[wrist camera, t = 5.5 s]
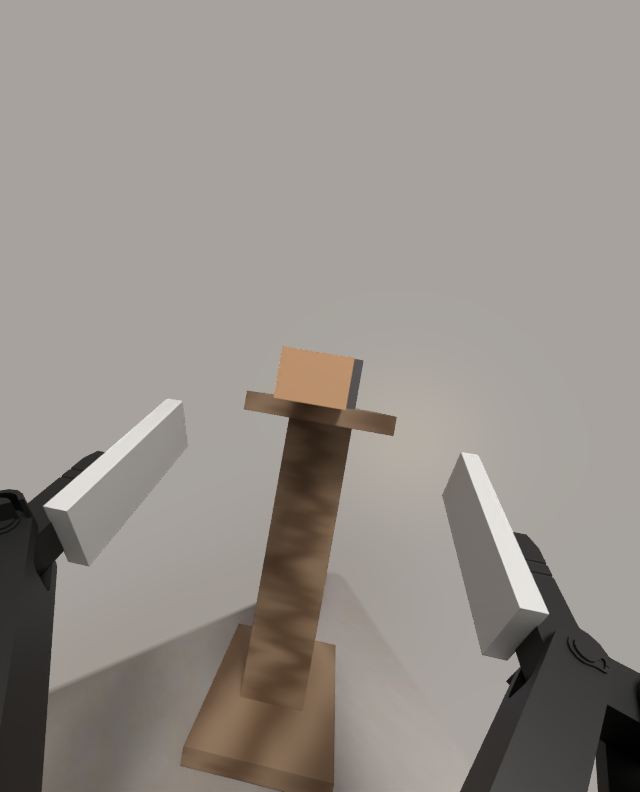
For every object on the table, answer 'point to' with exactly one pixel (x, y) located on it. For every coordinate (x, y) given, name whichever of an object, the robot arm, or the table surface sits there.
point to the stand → (285, 620)
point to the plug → (318, 378)
